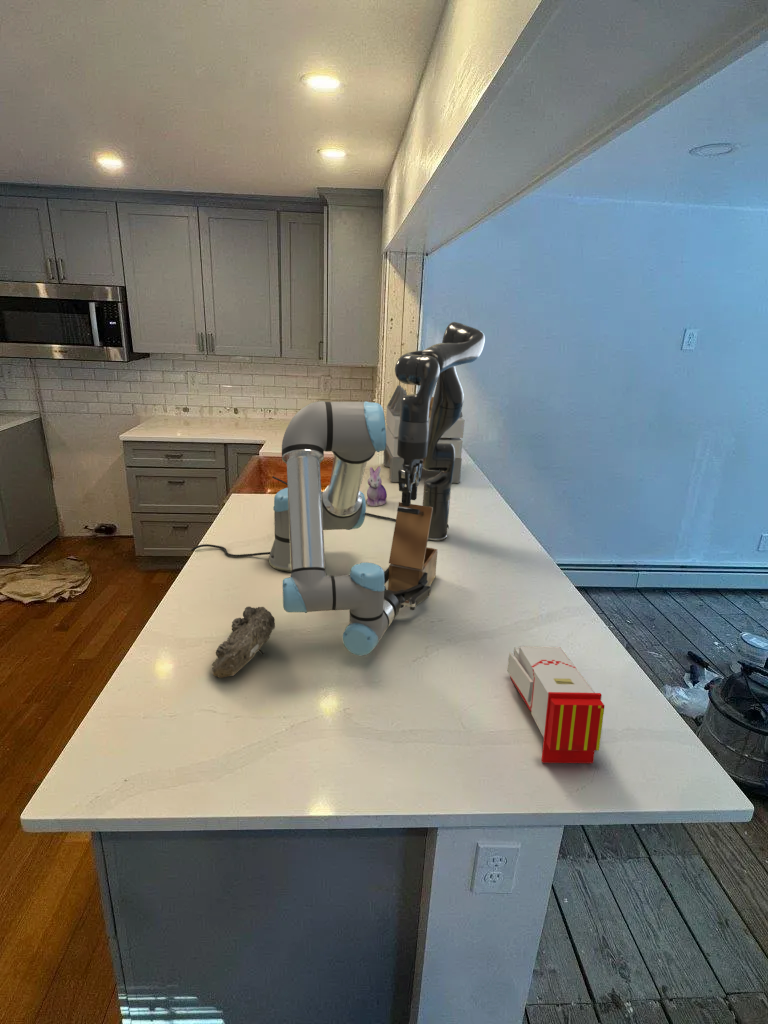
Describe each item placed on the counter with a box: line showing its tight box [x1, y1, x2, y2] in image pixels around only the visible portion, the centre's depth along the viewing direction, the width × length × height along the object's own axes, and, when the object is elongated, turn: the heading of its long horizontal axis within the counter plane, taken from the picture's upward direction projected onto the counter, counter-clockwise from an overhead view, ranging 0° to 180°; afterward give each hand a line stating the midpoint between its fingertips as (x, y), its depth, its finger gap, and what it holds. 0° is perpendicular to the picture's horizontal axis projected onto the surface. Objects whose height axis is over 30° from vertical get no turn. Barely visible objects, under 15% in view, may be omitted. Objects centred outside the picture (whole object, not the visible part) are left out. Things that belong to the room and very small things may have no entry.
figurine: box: [365, 466, 388, 507], centre depth 227 cm, size 9×10×15 cm
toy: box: [506, 645, 605, 764], centre depth 112 cm, size 12×13×30 cm
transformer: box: [383, 384, 465, 484], centre depth 268 cm, size 34×33×41 cm
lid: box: [388, 501, 433, 569], centre depth 149 cm, size 17×9×8 cm
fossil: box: [211, 606, 276, 679], centre depth 126 cm, size 22×10×15 cm
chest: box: [387, 546, 438, 591], centre depth 162 cm, size 16×9×9 cm, turn 160°
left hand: (408, 573), depth 156 cm, fingers closed on chest, 9 cm apart
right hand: (409, 502), depth 147 cm, fingers open, 4 cm apart
